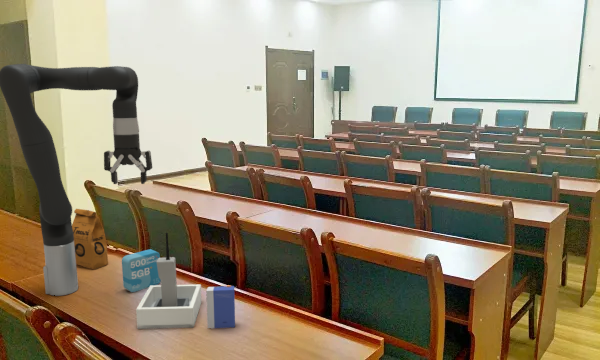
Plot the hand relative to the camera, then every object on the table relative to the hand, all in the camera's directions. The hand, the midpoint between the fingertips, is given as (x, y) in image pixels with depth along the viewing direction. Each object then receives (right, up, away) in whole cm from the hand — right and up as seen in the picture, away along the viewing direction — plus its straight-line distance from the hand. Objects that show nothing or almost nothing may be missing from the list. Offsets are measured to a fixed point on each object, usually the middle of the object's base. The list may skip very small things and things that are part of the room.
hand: (129, 183), depth 155 cm
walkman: (+31, -42, -12) cm, 53 cm away
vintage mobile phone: (+14, -39, -6) cm, 42 cm away
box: (+15, -40, -5) cm, 43 cm away
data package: (-1, -36, +15) cm, 39 cm away
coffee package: (-27, -32, +35) cm, 55 cm away
